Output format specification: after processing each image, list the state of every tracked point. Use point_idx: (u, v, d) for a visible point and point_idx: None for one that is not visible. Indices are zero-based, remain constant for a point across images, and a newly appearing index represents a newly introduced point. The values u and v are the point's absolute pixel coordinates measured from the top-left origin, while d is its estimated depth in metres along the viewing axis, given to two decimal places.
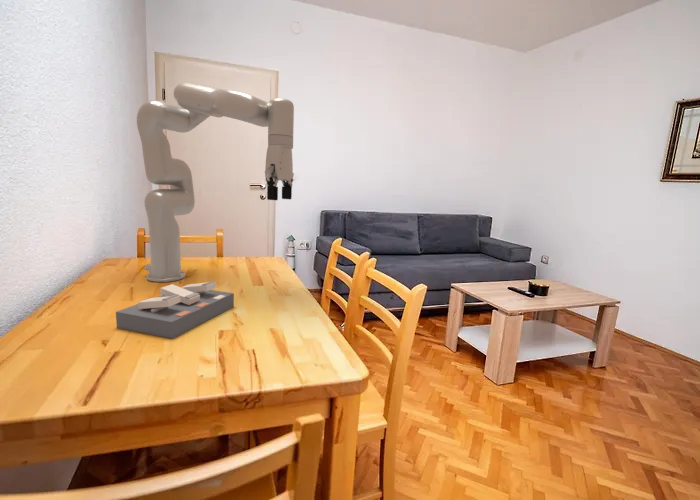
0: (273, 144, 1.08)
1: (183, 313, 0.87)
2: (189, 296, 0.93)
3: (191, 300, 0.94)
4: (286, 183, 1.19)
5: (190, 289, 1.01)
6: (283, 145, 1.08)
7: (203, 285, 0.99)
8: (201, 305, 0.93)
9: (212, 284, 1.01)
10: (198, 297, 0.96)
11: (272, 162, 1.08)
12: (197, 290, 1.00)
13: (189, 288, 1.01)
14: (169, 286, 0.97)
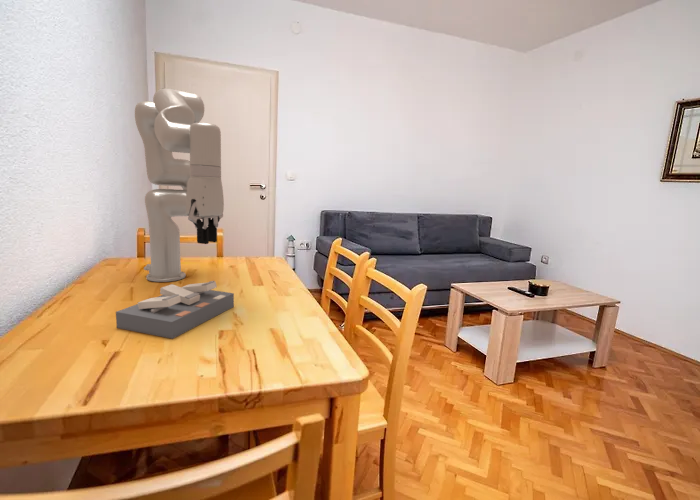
0: (194, 176, 0.93)
1: (183, 313, 0.87)
2: (189, 296, 0.93)
3: (191, 300, 0.94)
4: (211, 222, 1.00)
5: (190, 289, 1.01)
6: (206, 177, 0.93)
7: (203, 285, 0.99)
8: (201, 305, 0.93)
9: (212, 284, 1.01)
10: (198, 297, 0.96)
11: (193, 197, 0.92)
12: (197, 290, 1.00)
13: (189, 288, 1.01)
14: (169, 286, 0.97)
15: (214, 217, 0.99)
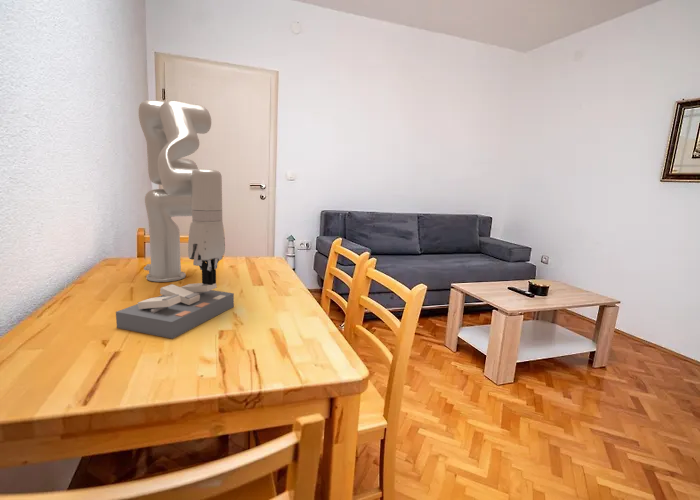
0: (196, 221, 0.95)
1: (183, 313, 0.87)
2: (189, 296, 0.93)
3: (191, 300, 0.94)
4: (210, 264, 1.01)
5: (190, 289, 1.01)
6: (208, 222, 0.95)
7: (203, 285, 0.99)
8: (201, 305, 0.93)
9: None
10: (198, 297, 0.96)
11: (195, 242, 0.94)
12: (197, 290, 1.00)
13: (189, 288, 1.01)
14: (169, 286, 0.97)
15: (214, 258, 1.00)
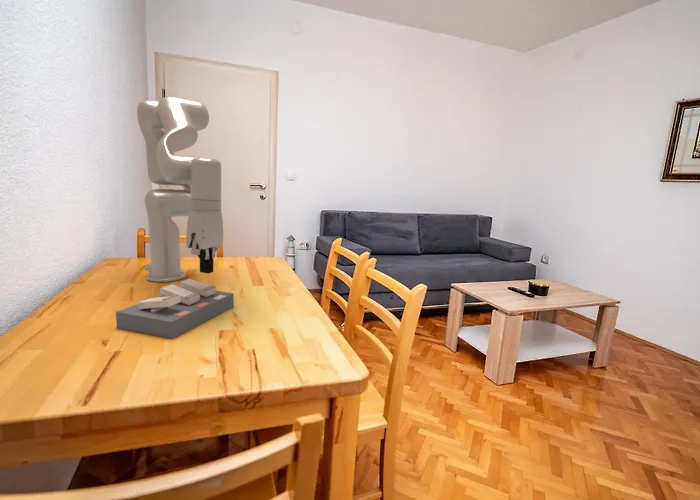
0: (195, 210, 0.94)
1: (183, 313, 0.87)
2: (189, 296, 0.93)
3: (191, 300, 0.94)
4: (208, 253, 1.01)
5: (190, 288, 1.01)
6: (206, 211, 0.94)
7: (204, 290, 0.99)
8: (201, 305, 0.93)
9: (213, 290, 1.02)
10: (198, 297, 0.96)
11: (193, 231, 0.94)
12: (197, 292, 1.00)
13: (189, 286, 1.01)
14: (169, 286, 0.97)
15: (212, 248, 1.00)
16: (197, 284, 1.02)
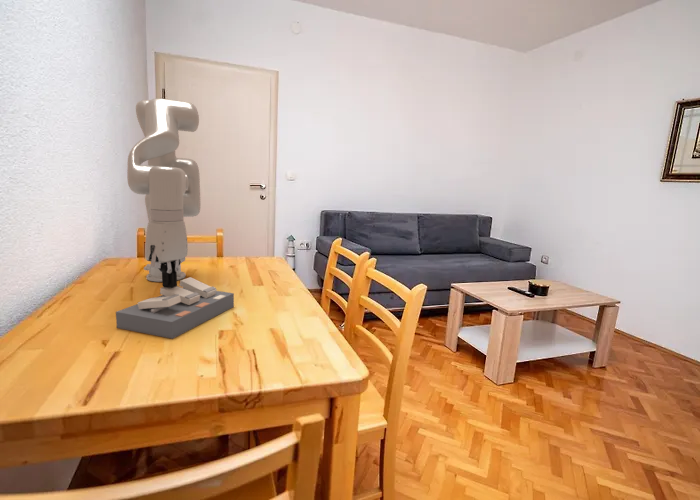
0: (154, 221, 0.90)
1: (183, 313, 0.87)
2: (189, 296, 0.93)
3: (191, 300, 0.94)
4: None
5: (190, 287, 1.01)
6: (166, 222, 0.90)
7: (204, 291, 0.99)
8: (201, 305, 0.93)
9: (212, 292, 1.02)
10: (198, 297, 0.96)
11: (152, 243, 0.89)
12: (196, 292, 1.00)
13: (190, 286, 1.01)
14: None
15: (175, 260, 0.95)
16: (197, 284, 1.02)
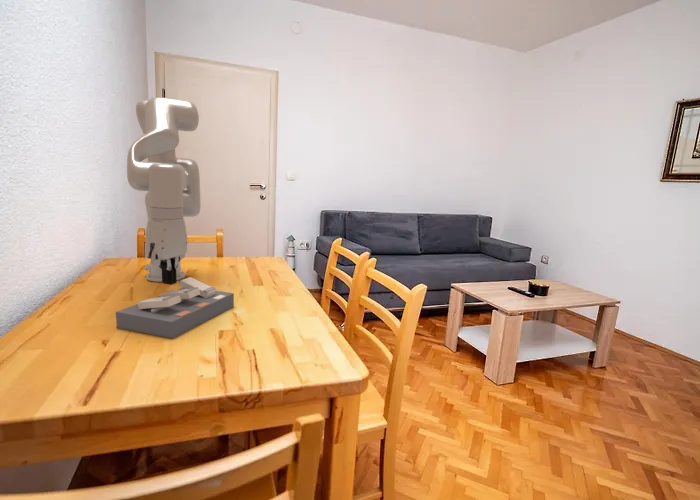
0: (154, 218, 0.90)
1: (183, 313, 0.87)
2: (187, 290, 0.93)
3: (191, 294, 0.93)
4: (171, 263, 0.97)
5: (190, 287, 1.01)
6: (166, 220, 0.90)
7: (204, 291, 0.99)
8: (201, 305, 0.93)
9: (212, 292, 1.02)
10: (198, 290, 0.96)
11: (152, 240, 0.90)
12: None
13: (190, 286, 1.01)
14: (168, 291, 0.97)
15: (174, 257, 0.96)
16: (197, 284, 1.02)
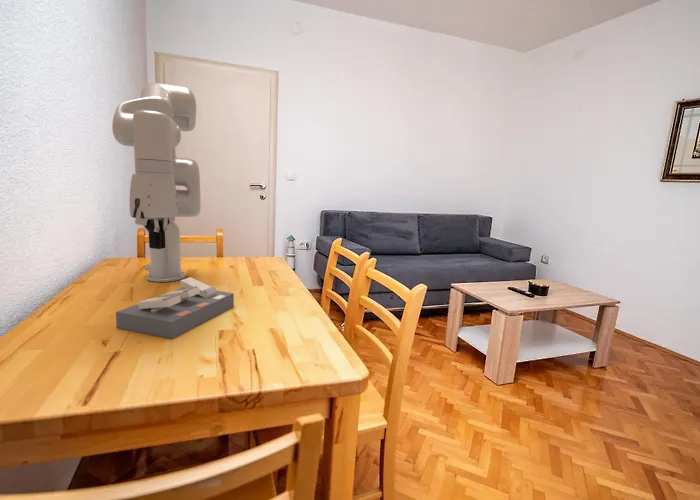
0: (139, 172, 0.80)
1: (183, 313, 0.87)
2: (187, 289, 0.93)
3: (191, 292, 0.93)
4: None
5: (190, 287, 1.01)
6: (152, 173, 0.80)
7: (204, 291, 0.99)
8: (201, 305, 0.93)
9: (212, 292, 1.02)
10: (197, 289, 0.96)
11: (137, 196, 0.80)
12: None
13: (190, 286, 1.01)
14: (168, 293, 0.97)
15: (163, 219, 0.86)
16: (197, 284, 1.02)
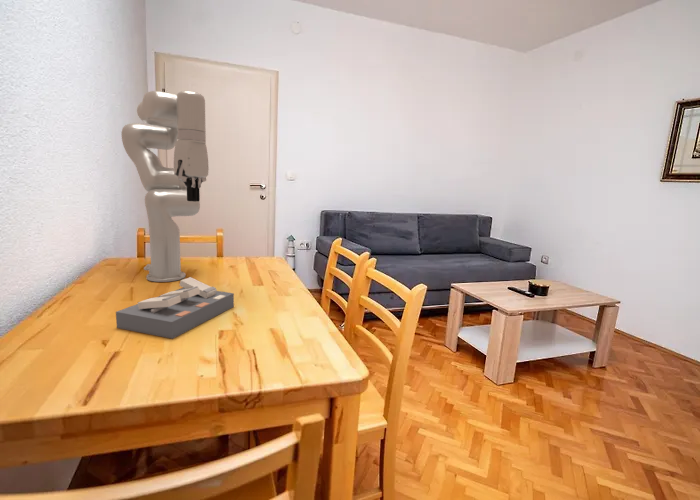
0: (181, 139, 1.04)
1: (183, 313, 0.87)
2: (187, 289, 0.93)
3: (191, 292, 0.93)
4: (195, 183, 1.10)
5: (190, 287, 1.01)
6: (191, 140, 1.04)
7: (204, 291, 0.99)
8: (201, 305, 0.93)
9: (212, 292, 1.02)
10: (197, 289, 0.96)
11: (180, 158, 1.03)
12: None
13: (190, 286, 1.01)
14: None
15: (198, 178, 1.09)
16: (197, 284, 1.02)
